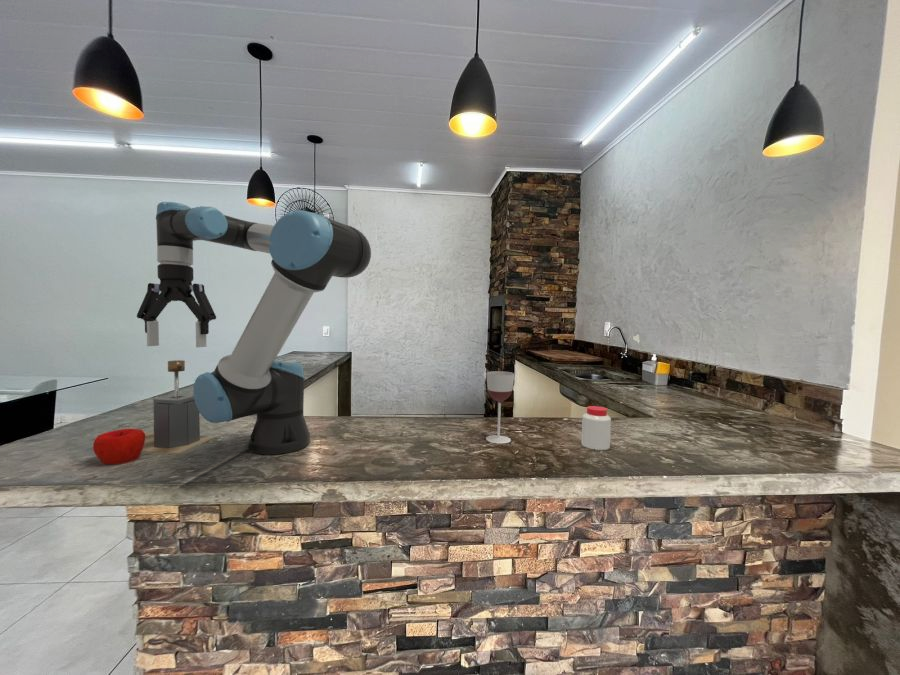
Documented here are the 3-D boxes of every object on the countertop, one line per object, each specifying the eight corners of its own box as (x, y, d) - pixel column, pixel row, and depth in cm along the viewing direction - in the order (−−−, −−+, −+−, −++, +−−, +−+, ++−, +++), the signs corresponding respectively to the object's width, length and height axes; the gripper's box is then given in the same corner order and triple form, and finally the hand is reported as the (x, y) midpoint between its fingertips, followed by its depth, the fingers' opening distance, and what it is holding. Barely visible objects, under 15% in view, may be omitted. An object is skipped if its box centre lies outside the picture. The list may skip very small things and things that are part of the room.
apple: (87, 475, 80) (87, 439, 79) (101, 461, 88) (101, 428, 87) (140, 468, 84) (140, 434, 84) (149, 455, 92) (149, 424, 91)
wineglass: (516, 438, 113) (518, 372, 112) (504, 445, 105) (506, 376, 104) (492, 433, 117) (494, 370, 116) (479, 440, 110) (481, 373, 109)
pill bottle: (580, 447, 106) (582, 409, 105) (581, 439, 113) (583, 404, 112) (610, 451, 103) (611, 412, 102) (609, 443, 110) (611, 406, 109)
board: (216, 440, 104) (216, 436, 104) (178, 458, 91) (178, 453, 91) (143, 436, 105) (143, 432, 105) (96, 452, 93) (96, 448, 92)
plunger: (198, 431, 102) (197, 360, 101) (178, 438, 95) (177, 362, 94) (175, 430, 102) (175, 359, 101) (154, 437, 96) (153, 362, 95)
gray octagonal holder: (213, 434, 105) (212, 392, 105) (179, 448, 93) (178, 401, 93) (181, 432, 106) (181, 391, 105) (144, 446, 94) (143, 400, 94)
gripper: (230, 267, 99) (231, 346, 100) (144, 267, 101) (146, 344, 102) (210, 263, 92) (211, 348, 92) (117, 262, 94) (119, 346, 95)
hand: (177, 346), depth 97 cm, fingers open, 13 cm apart
